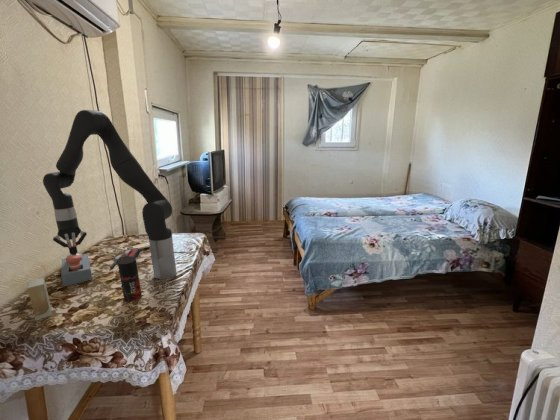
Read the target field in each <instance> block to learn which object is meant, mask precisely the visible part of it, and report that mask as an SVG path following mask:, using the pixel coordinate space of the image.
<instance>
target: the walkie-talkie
mask: <svg viewBox="0 0 560 420" xmlns="http://www.w3.org/2000/svg"><path fill="white" fill-rule="evenodd" d="M139 254H140V248H138V247H132V248H130V247H129V248H127V249H125V250H124V252H123V253H121V254H119V255H117V256H115V258H114V261H113V263H112V264H111V265H110V266H109V268H110V269H113V267H114V266H115V265H116V264H118V261H119V260H121V259H124V258H129V257H133V258H136V259H137V257H138V256H139Z"/></svg>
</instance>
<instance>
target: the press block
mask: <svg viewBox="0 0 560 420" xmlns="http://www.w3.org/2000/svg"><path fill="white" fill-rule="evenodd" d="M80 265H81V269H79V270H75V271H71V268H70V264H69V263H66V258H63V259H62V258H61V273H60V276H61V280H62V281H61V282H62V284H63V285H62V286H63V287H68V286H71V285H75V284H80V283H84V282H86V281H88V282H89V281H90V280H93V275H92V274H93V273H92V268H91V264H90V259H89V254H88V253H86V254H85V253H84V254H82V260H81V261H80Z"/></svg>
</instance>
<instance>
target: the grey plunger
mask: <svg viewBox="0 0 560 420" xmlns="http://www.w3.org/2000/svg"><path fill="white" fill-rule="evenodd" d="M76 255H81V256H82V255H83V254H82V252H77V253H76ZM69 256H72V254H70V253H69V254H68V255H66V258H67V257H69Z"/></svg>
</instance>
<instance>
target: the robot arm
mask: <svg viewBox="0 0 560 420" xmlns="http://www.w3.org/2000/svg"><path fill="white" fill-rule="evenodd" d="M93 135H94V136H95V135H97V136H98V137H99V138H100V139H101V140H102V141H103V143H104V144H105V146H106V148H107V150H108V155H109V161H110V165H111V167H112V169H113V170H114V171H115V173H116V174H117V176H118V178H120V180H121V181H122V182H124V183H125V184H126V185H127V186H129V187H130V188H131V189H133V190H134V191H136V192H137V193H139V194H140V195H141V196H142V197H143V199H145V201H146V203H145V204H144V205H143V207H142V219H143V225H144V230H145V233H146V235H147V236H148V242H149V251H150V258H151V264H152V272H153V277H154V278H155V279H158V280H161V281H162V280H165V279H169V278H173V277H176V274H177V267H176V266H177V265H176V258H175V248H174V240H173V232H172V229H171V228H169V227H167V223H166V220H167V219H169V218H170V217H171V216H172V215H173V207H172V206H173V205H172V204H171V202H170V201H169V200H168V199H167V198H166V197H165V195H164V194H163V193H162V192H161V191H160V190H159V189H158V187H157V186H156V185H155V184H154V183H153V181H152V180H151V178H150V177H149V176H148V174H147V173H146V171H145V170H144V169H143V167H142V165H141V164H140V163H139V161H138V159H136V157H135V156H134V154H132V152H131V151H130V149H129V148H128V146H127V144H125V142H124V140H123V139H122V138H121V136H120V134H119V133H118V131H117V129H116V127H115V125H114V124H113V122H112V121H111V119H110V118H109V116H108V115H107V114H106V113H105V112H103V111H100V110H91V109H82V110H79V111H78V112H77V113H76V115H75V117H74V119H73V122H72V125H71V129H70V132H69V135H68V138H67V142H66V145H65V147H64V149H63V151H62V152H61V154H60V156H59V158H58V160H57V161H56V163H55V167H56V170H58V171H57V172H49V173H46V174H45V175H44V176H43V177H42V178H43V179H42V184H43V186H44V189H45V190H46V192H47V193H48V195H49V197H50V199H51V201H52V206H53V210H54V218H55V222H56V225H57V231H58V232H57V234H56V235H55V236H53V238H52V241H53V242H55V243H57V244H58V245H60V246H62V247H63V248H68V250H69V254H72V255H76V253H78V246H79V245H81V244H82V242H83V241H84V239H85V238H86V236H87V234H88V233H87V232H86V231H83V230H82V229H81V228H80V225H79V221H78V217H77V212H76V209H75V205H74V201H73V196H72V195H71V194H70V193H64V192H63V191H62V189H65V188H69V187H71V186H72V185H73V184H74V182H75V177H76V171H77V170H78V168H79V166H80V164H81V163H82V161H83V158H84V144H85V142H86V140H87V139H88V138H89V137H90V136H93ZM79 235H80V237H79ZM78 237H79V238H78ZM77 238H78V240H77V241H76V239H77ZM62 239H63V240H64V241H66V242H64V241H63V240H62ZM71 241H72V242H71Z"/></svg>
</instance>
